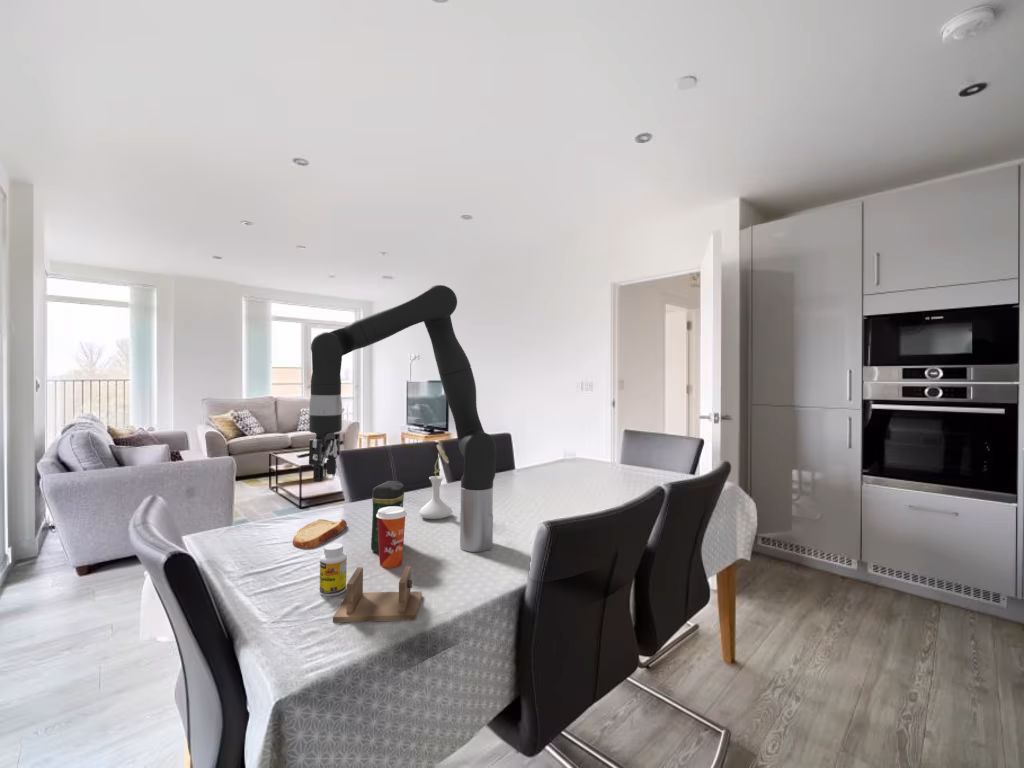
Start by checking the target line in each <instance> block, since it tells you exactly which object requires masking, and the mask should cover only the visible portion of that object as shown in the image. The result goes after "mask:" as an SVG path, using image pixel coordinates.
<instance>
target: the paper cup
mask: <svg viewBox="0 0 1024 768" xmlns="http://www.w3.org/2000/svg"><path fill="white" fill-rule="evenodd" d="M407 514H408V513H407V512H406V509H405V508H404V506H403V507H398V506H389V507H384V508H381V509H379V510H378V513H377V515H376V517H377V520H378V542H379V553H378V555H379V556H378V557H379V566H380V567H381V568H386V569H393V568H397V567H399V566H401V565H402V564H403V555H404V543H405V526H406V516H407Z"/></svg>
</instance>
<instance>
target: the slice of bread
mask: <svg viewBox="0 0 1024 768" xmlns="http://www.w3.org/2000/svg"><path fill="white" fill-rule="evenodd" d="M347 525H348V523H347V521H346V520H345V519H341V520H340V521H332V520H327V519H322V518H321V519H320V518H319V519H317V520H314V521H313V522H310V523H307V524H306V525H304V526H302V528H300V529H298V530H297V533H296V534H295V535H294V537H293V540H292V545H293V547H294V548H296V549H300V550H311V549H314V548H316V547H319V546H321V545H323V544H325V543H326V542H327V541H330V540H331V539H332V538H334V537H336V536H338V534H340V533H341V532H343V530H344V529H345V528H346V526H347Z"/></svg>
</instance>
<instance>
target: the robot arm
mask: <svg viewBox="0 0 1024 768" xmlns="http://www.w3.org/2000/svg"><path fill="white" fill-rule="evenodd" d="M455 293H456V292H454V290H453V289H451V288H450V287H448V286H446V285H442V284H441V285H440V284H437V285H436V284H435V285H432V286H431V287H429V288H428V289H426V290H425V291H424V292H422V293H421V294H419V295H418V296H416V297H414V298H412V299H410V300H408V301H406V302H404V303H401V304H398V305H395V306H393V307H389V308H387V309H384V310H381V311H378V312H375V313H373V314H370V315H367V316H365V317H362V318H359V319H356V320H354V321H352V322H350V323H347V325H345V326H343V327H340V328H337V329H334V330H331V331H325V332H321V333H318V334H316V336H314V338H313V339H312V341H311V343H310V351H311V365H312V366H311V370H312V372H311V373H312V374H311V376H310V397H309V399H310V400H309V408H308V409H309V410H308V411H309V412H308V413H309V415H308V416H309V417H308V419H309V421H308V422H309V423H308V431H309V432H310V433H312V434H316V435H315V439H314V438H312V439H311V438H310V439H309V447H308V448H309V449H308V453H309V454H308V465H309V466H312V467H313V471H312V472H313V482H314V483H315V482H316V483H317V482H319V483H321V482H323V481H324V479H325V474H324V473H325V470H326V474H327V475H335V474H336V473H337V459H338V456H340V454H341V450H340V449H341V442H340V440H341V438H340V437H341V436H340V432H341V431H342V428H343V424H342V423H343V422H342V421H343V420H342V419H343V417H342V416H343V414H342V413H343V403H342V379H341V371H342V360H343V356H345V355H347V354H349V353H351V352H353V351H356V350H360V349H363V348H366V347H368V346H371V345H374V344H376V343H378V342H380V341H383V340H386V339H387V338H389V337H391V336H393V335H396V334H398V333H399V332H401V331H403V330H406V329H408V328H411V326H415V325H418V324H421V323H423V324H424V325H425V328H426V331H427V333H428V336H429V338H430V341H431V346H432V350H433V351H432V352H433V355H434V358H435V362H436V367H437V371H438V374H439V379H440V381H441V385H442V386H441V387H442V388H443V391H444V395H445V398H446V401H447V403H448V406H449V409H450V411H451V414H452V417H453V422H454V426H455V430H456V437H457V442H458V448H459V452H460V454H461V455H462V457H463V459H464V461H463V474H462V476H461V478H460V519H459V520H460V521H459V523H460V526H459V527H460V529H459V531H460V533H459V535H460V536H459V537H460V538H459V546H460V549H461V550H463V551H466V552H470V553H471V552H473V553H474V552H475V553H480V552H484V551H485V552H486V551H489V550H490V551H491V550H493V544H494V543H493V541H494V539H493V538H494V537H493V535H494V533H493V532H494V531H493V530H494V514H493V513H494V512H493V511H494V510H493V506H494V500H493V499H494V497H493V496H494V480H495V477H496V472H497V471H496V467H497V466H496V465H497V445H496V441H495V439H494V437H493V436H492V435H490V434H488V433H487V432H485V431H484V428H483V426H482V422H481V419H480V417H479V414H478V413H479V412H478V408H477V387H476V382H475V381H476V380H475V377H474V373H473V370H472V367H471V366H472V365H471V362H470V361H469V357H468V356H467V354H466V352H465V350H464V349H463V346H462V345H461V343H460V342H459V340H458V338H457V336H456V334H455V331H454V327H453V321H452V318H451V316H452V314H454V312H455V310H456V308H457V306H458V298H457V294H455ZM325 462H326V469H325V466H324V465H325Z"/></svg>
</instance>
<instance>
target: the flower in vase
mask: <svg viewBox="0 0 1024 768" xmlns="http://www.w3.org/2000/svg"><path fill="white" fill-rule="evenodd" d="M436 448H437V451H438V453H439V456H438V457H437V459H436V461H435V464H434V472H433V474H434V475H432V476H429V477H428V479H429V480H430V482H431V486H432V497H431V499H430V500H429V501H428V502H427V503H426V504H424V505H423V506H422V508H420V509H419V513H418V514H419V515H420V517H422V518H424V519H428V520H429V519H430V520H440V519H444V518H447V517H450V516H451V515H452V514H453V509H452V507H451V506H449V505H448V504H447V503H446V502H444V501H443V500H442V498H441V497H440V496H441V495H440V487H441V483H442V480H443V479H444V476H442V475H437V473H439V472H440V471H441V469H440V468H437V465H438V464H437V463H438V461H439V459H440V457H442V460H444V462H445V463H446V464H449V463H450V461H449V457H448V456H447V455H446V454H445V453H446V452H445V450H443V449H442V446H441V445H440V444H439V443H438V444H436Z"/></svg>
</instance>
